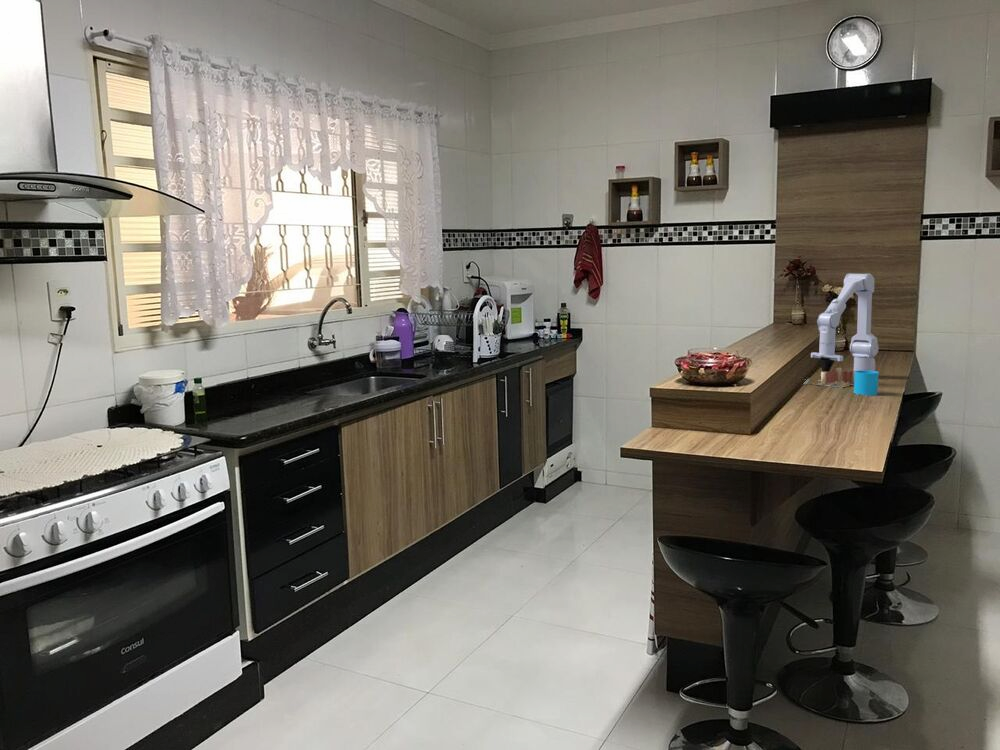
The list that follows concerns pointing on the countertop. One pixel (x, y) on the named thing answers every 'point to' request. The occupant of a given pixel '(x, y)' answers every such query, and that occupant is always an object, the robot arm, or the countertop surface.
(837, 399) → the countertop surface
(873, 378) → the mug
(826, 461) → the countertop surface
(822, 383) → the fence panel
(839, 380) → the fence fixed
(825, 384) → the board
